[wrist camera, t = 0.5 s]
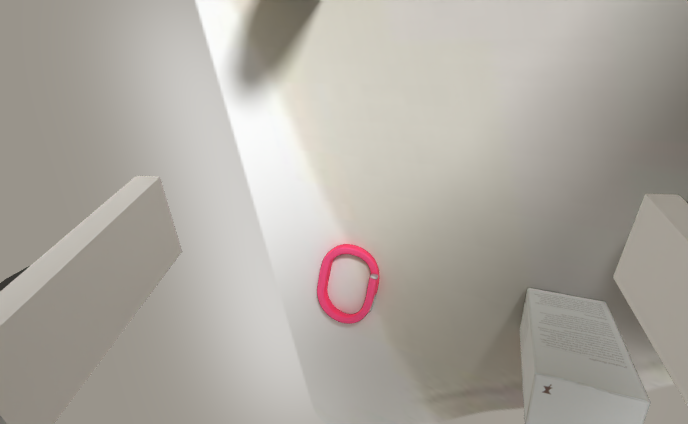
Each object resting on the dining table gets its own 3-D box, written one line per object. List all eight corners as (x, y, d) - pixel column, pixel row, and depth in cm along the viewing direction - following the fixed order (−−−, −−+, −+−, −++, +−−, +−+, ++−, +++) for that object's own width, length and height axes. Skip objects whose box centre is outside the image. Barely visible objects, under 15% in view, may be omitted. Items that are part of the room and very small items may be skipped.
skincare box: (518, 329, 37) (521, 429, 27) (526, 285, 36) (533, 371, 25) (597, 346, 35) (634, 461, 25) (609, 300, 34) (653, 400, 23)
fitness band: (369, 325, 43) (364, 333, 42) (316, 305, 45) (310, 312, 43) (386, 254, 40) (382, 260, 39) (330, 235, 42) (324, 240, 41)
